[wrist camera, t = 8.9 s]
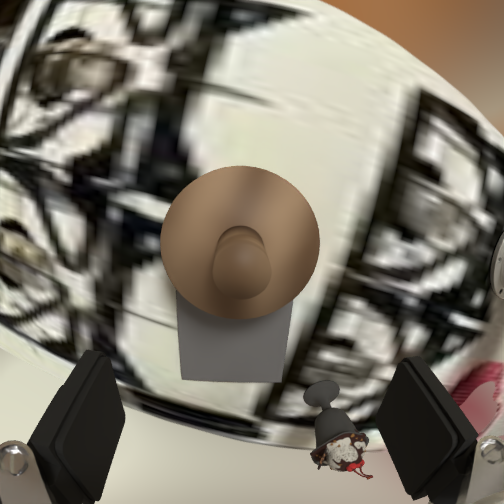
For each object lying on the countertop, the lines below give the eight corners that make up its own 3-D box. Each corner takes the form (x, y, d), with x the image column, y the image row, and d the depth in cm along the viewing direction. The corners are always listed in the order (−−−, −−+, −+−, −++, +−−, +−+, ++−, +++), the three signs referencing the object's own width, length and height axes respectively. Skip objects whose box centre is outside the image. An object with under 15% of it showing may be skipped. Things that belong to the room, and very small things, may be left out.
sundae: (354, 388, 37) (393, 473, 23) (316, 415, 38) (342, 501, 24) (327, 366, 35) (365, 461, 21) (287, 396, 36) (307, 492, 22)
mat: (292, 292, 32) (293, 295, 31) (280, 379, 35) (281, 382, 35) (177, 288, 31) (176, 290, 30) (182, 376, 34) (182, 379, 34)
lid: (323, 172, 23) (352, 178, 17) (305, 313, 27) (323, 354, 21) (164, 163, 22) (140, 167, 16) (166, 308, 26) (150, 349, 20)
